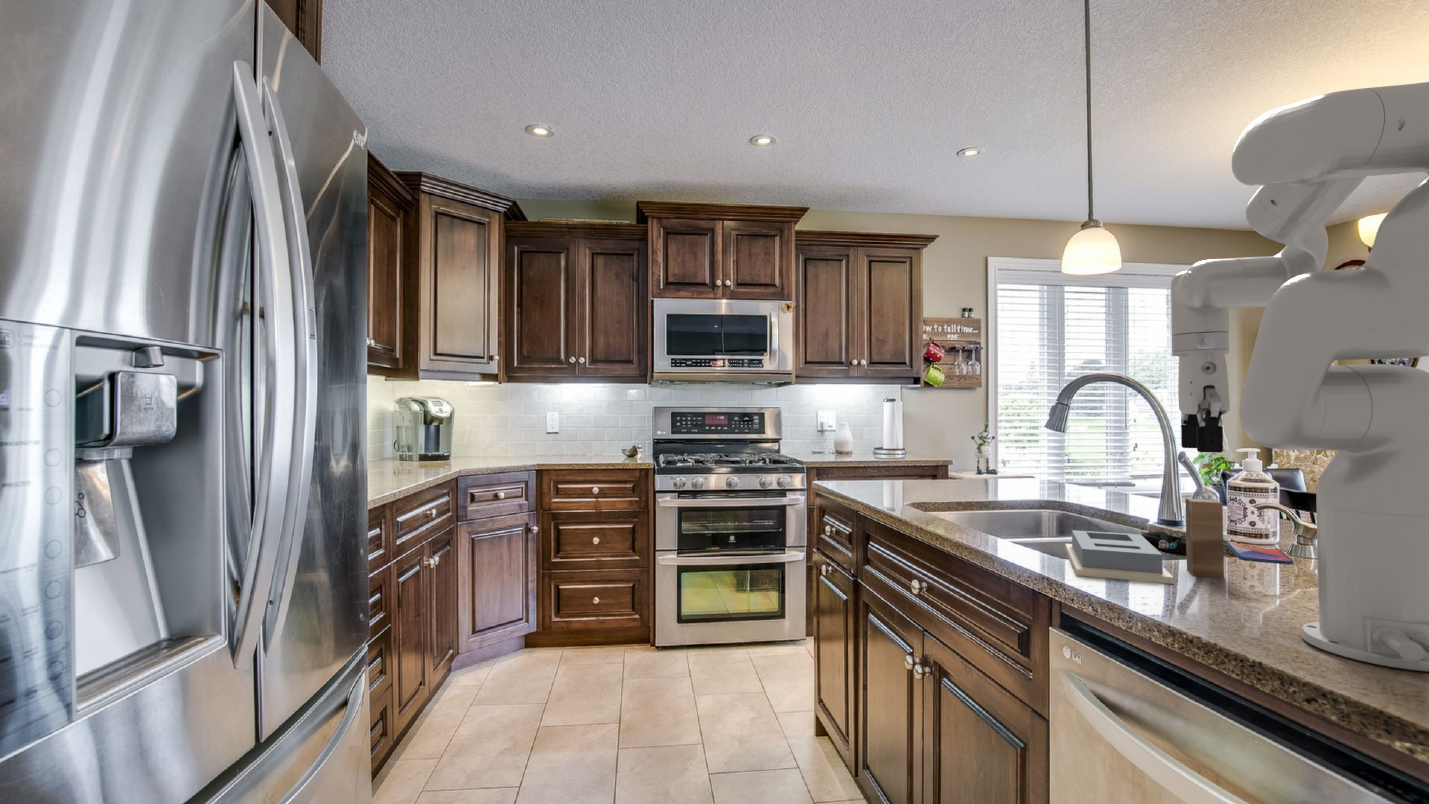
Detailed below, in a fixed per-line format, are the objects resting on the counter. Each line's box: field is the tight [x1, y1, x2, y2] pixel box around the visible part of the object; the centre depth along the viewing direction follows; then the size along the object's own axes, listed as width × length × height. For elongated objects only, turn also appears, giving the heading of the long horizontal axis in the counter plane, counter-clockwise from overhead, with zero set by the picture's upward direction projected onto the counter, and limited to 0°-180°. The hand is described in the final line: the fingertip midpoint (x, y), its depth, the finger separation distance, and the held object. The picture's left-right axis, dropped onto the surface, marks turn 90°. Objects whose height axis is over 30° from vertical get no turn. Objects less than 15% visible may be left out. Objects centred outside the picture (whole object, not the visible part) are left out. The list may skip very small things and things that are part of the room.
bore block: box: [1064, 529, 1175, 585], centre depth 110 cm, size 22×13×4 cm, turn 155°
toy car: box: [1141, 531, 1186, 554], centre depth 121 cm, size 8×12×4 cm
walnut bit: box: [1184, 497, 1225, 579], centre depth 103 cm, size 4×4×12 cm
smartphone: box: [1225, 540, 1294, 565], centre depth 118 cm, size 7×15×1 cm, turn 149°
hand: (1201, 449), depth 104 cm, fingers open, 9 cm apart
